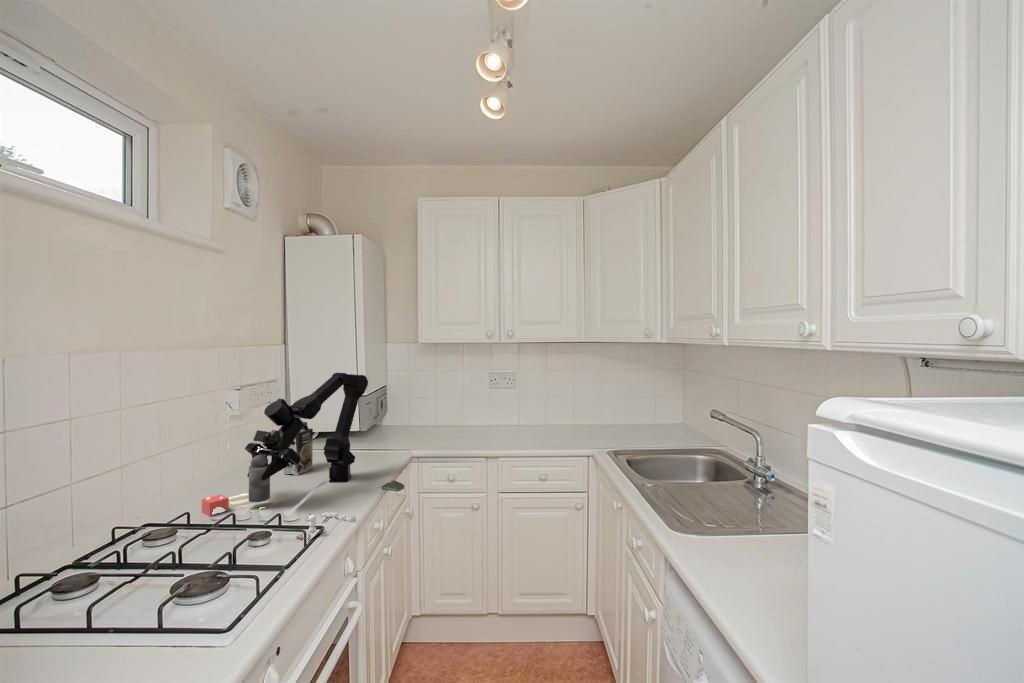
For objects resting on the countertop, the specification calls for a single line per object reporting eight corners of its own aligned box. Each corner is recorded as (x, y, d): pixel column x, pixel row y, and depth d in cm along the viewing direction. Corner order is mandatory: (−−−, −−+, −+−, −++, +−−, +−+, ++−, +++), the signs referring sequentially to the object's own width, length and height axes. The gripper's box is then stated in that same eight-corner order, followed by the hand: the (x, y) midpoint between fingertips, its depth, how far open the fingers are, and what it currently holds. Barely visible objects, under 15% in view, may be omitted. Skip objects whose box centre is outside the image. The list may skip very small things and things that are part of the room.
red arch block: (201, 516, 134) (201, 497, 133) (220, 511, 138) (220, 492, 138) (209, 520, 131) (209, 501, 131) (228, 515, 135) (228, 496, 135)
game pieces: (314, 545, 118) (315, 522, 118) (276, 536, 122) (276, 515, 122) (412, 490, 160) (412, 473, 160) (380, 485, 164) (380, 469, 164)
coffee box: (298, 476, 173) (298, 433, 172) (283, 474, 174) (283, 432, 174) (313, 469, 182) (313, 428, 181) (298, 468, 183) (299, 427, 183)
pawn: (270, 494, 142) (270, 451, 142) (269, 500, 137) (269, 456, 137) (249, 497, 140) (249, 453, 140) (247, 503, 135) (247, 458, 135)
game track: (213, 504, 143) (213, 500, 143) (250, 494, 152) (250, 490, 152) (246, 519, 132) (246, 515, 132) (283, 507, 141) (284, 503, 141)
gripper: (250, 417, 146) (215, 460, 136) (293, 422, 138) (259, 468, 128) (272, 436, 153) (241, 479, 143) (313, 442, 146) (284, 488, 136)
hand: (255, 478), depth 137 cm, fingers closed on pawn, 6 cm apart
